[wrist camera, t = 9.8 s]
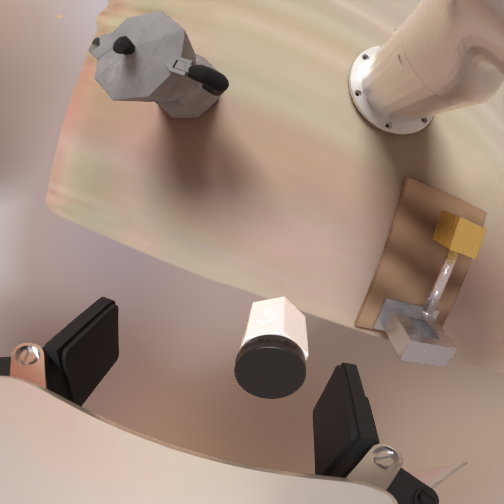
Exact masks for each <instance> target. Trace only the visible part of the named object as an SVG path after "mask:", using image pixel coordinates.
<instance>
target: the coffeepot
mask: <svg viewBox="0 0 504 504" xmlns="http://www.w3.org/2000/svg"><path fill="white" fill-rule="evenodd" d="M89 52H90V53H91V54H92V55H93V56H94V57H95V58H96V59H97V60H98V61H97V67H96V73H95V80H96V81H97V82H98V83H99V84H100V86H101V87H102V88H103V89H104V90H105V91H106V93H107V94H108V95H109V96H110V97H111V98H112V100H113V101H116V100H119V101H144V102H154V101H155V102H156V103H157V104H158V105H159V106H160V107H161V108H162V109H163V110H164V111H165V112H167V113H168V114H169V115H170V116H171V117H172V118H198V117H199V116H200V115H202V114H203V113H204V112H205V111H207V110H208V109H209V108H210V107H211V106H212V105H213V104H214V103H215V102H216V101H217V100H218V99H219V95H221V94H222V93H223V92H224V91H225V90H227V88H228V86H229V83H228V80H227V78H226V77H225V76H224V75H223V74H221V73H219V72H218V71H217V70H216V69H215V68H214V67H213V66H212V65H211V64H210V63H209V62H208V61H207V60H206V59H204V58H203V57H201V56H199V55H197V54H195V53H194V50H193V48H192V46H191V43H190V41H189V39H188V36H187V34H186V32H185V30H184V29H183V28H182V27H181V26H180V25H178V24H177V23H176V22H175V21H174V20H172V19H171V18H170V17H169V16H167V15H166V14H165V13H164V12H162V11H160V12H154V13H149V14H144V15H139V16H135V17H130V18H127V19H126V20H125V21H124V22H123V23H122V24H121V25H120V26H119V27H118V28H117V29H116V30H115V31H114V32H113V33H109V34H105V35H101V36H99V37H96V38H95V39H94V40H93V42H92V45H91V46H90V48H89Z"/></svg>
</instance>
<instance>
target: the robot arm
mask: <svg viewBox="0 0 504 504" xmlns="http://www.w3.org/2000/svg"><path fill="white" fill-rule="evenodd" d="M363 58H365V59H366V60H364V59H363ZM503 80H504V0H422V1H421V2H420V4H419V5H418V6H417V7H416V8H415V10H414V11H413V12H412V13H411V14H410V15H409V16H408V17H407V19H406V20H405V21H404V22H403V23H402V24H401V25H400V27H399V28H398V29H395V30H394V33H393V35H392V36H391V37H390V38H389V39H388V40H387V41H386V43H385V44H384V45H383V46H375V47H371V48H368V49H367V50H365V51H363V52H362V53H361V54H360V55H359V56H358V57H357V58H356V59H355V61H354V62H353V64H352V66H351V68H350V72H349V90H350V94H351V97H352V100H353V102H354V104H355V106H356V107H357V109H358V111H359V112H360V113H361V114H362V115H363V117H364V118H365V119H366V120H368V121H369V122H370V123H371V124H372V125H374V126H375V127H377V128H379V129H381V130H383V131H385V132H388V133H392V134H398V135H405V134H411V133H415V132H418V131H419V130H421V129H423V128H424V127H426V126H427V125H428V124H429V122H430V121H431V119H432V118H433V116H434V115H436V114H439V113H443V112H447V111H451V110H455V109H459V108H464V107H468V106H472V105H476V104H480V103H482V102H485V101H487V100H489V99H490V98H492V97H493V96H494V95H495V94H496V92H497V91H498V90H499V89H500V87H501V85H502V83H503ZM355 93H358V96H356V95H355ZM421 119H422V120H423V122H422V120H421ZM386 124H387V125H388V128H387V127H386ZM118 345H119V344H118V306H117V305H115V302H114V301H113V300H110V299H108V298H105V297H101V298H100V299H98V300H97V301H96V302H95V303H93V304H92V305H91V306H90V307H89V308H87V309H86V310H85V311H84V312H83V313H81V314H80V315H79V316H78V317H77V318H75V319H74V320H73V321H72V322H71V323H69V324H68V325H67V326H66V327H65V328H64V329H62V330H61V331H60V332H59V333H58V334H57V335H55V336H54V337H53V338H52V339H51V340H50V341H49V342H47V343H46V344H45V346H44V347H43V348H41V347H39V346H38V345H36V344H33V343H23V344H21V345H18V346H17V347H16V348H15V349H14V350H13V351H12V355H11V357H0V504H439V499H438V496H437V494H436V492H435V491H434V490H433V489H432V488H430V487H429V486H427V485H426V484H424V483H423V482H421V481H420V480H418V479H417V478H415V477H414V476H412V475H411V474H409V473H408V472H406V471H405V470H404V469H402V468H401V466H402V462H403V458H402V456H401V453H400V452H399V451H398V450H397V449H396V448H395V447H393V446H391V445H389V444H385V443H382V444H380V443H379V439H378V434H377V430H376V426H375V422H374V418H373V415H372V411H371V407H370V404H369V400H368V398H367V397H366V396H365V394H364V390H363V387H362V383H361V379H360V376H359V373H358V369H357V366H356V365H354V364H349V363H342V364H341V365H340V366H339V365H337V366H336V368H335V370H334V372H333V374H332V376H331V378H330V380H329V382H328V384H327V386H326V388H325V389H324V391H323V393H322V395H321V397H320V399H319V401H318V402H317V404H316V406H315V408H314V410H313V429H314V451H315V475H314V474H305V473H295V472H289V471H282V470H276V469H269V468H263V467H258V466H252V465H247V464H242V463H238V462H233V461H228V460H224V459H220V458H216V457H212V456H209V455H205V454H201V453H198V452H194V451H190V450H187V449H184V448H181V447H177V446H175V445H172V444H169V443H166V442H163V441H160V440H157V439H154V438H152V437H149V436H146V435H144V434H141V433H138V432H136V431H133V430H131V429H128V428H126V427H124V426H121V425H119V424H117V423H114V422H112V421H110V420H108V419H106V418H103V417H101V416H99V415H97V414H95V413H93V412H91V411H89V410H87V409H85V408H83V407H81V406H82V404H83V403H84V402H85V401H86V399H87V398H88V397H89V396H90V394H91V393H92V391H93V390H94V389H95V388H96V386H97V385H98V384H99V383H100V381H101V380H102V379H103V377H104V376H105V375H106V374H107V372H108V371H109V370H110V368H111V367H112V366H113V365H114V363H115V362H116V361H117V359H118V355H119V346H118Z"/></svg>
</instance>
